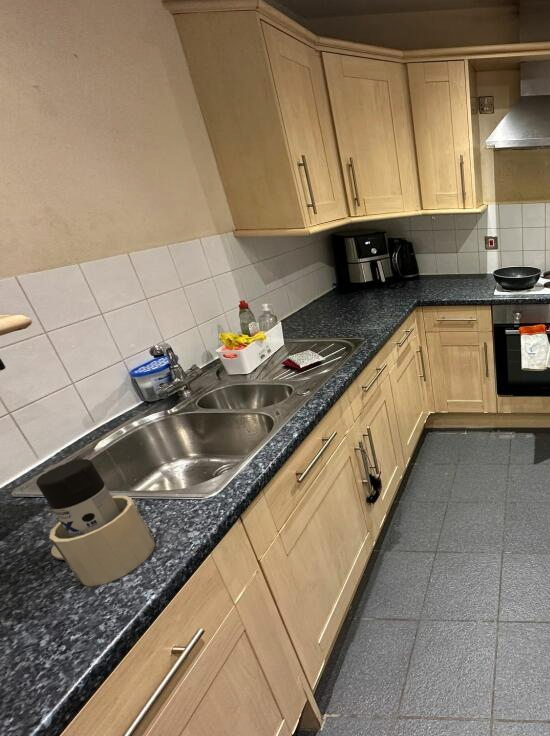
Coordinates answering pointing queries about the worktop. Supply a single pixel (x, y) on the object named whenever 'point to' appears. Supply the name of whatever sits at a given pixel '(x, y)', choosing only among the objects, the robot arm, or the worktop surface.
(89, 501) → the spray can
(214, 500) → the worktop surface
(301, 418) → the worktop surface
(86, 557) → the pot
